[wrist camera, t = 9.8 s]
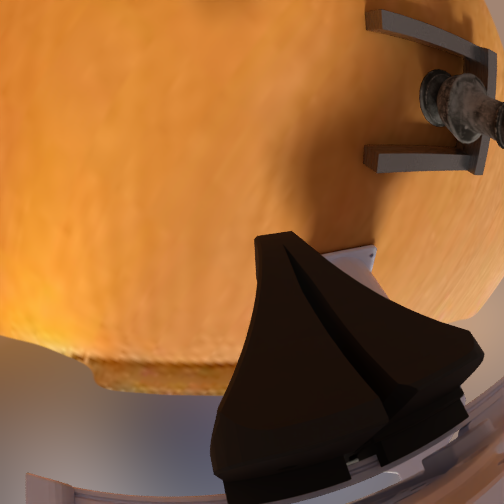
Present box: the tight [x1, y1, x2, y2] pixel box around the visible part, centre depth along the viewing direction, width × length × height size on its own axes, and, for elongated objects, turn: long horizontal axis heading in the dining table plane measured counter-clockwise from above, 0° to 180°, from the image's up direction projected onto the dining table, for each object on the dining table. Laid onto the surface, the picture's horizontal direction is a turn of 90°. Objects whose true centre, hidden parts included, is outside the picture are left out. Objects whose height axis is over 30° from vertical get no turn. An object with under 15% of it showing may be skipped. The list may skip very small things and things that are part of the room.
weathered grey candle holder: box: [419, 69, 504, 149], centre depth 12 cm, size 6×6×12 cm
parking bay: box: [363, 9, 497, 175], centre depth 16 cm, size 12×12×3 cm
